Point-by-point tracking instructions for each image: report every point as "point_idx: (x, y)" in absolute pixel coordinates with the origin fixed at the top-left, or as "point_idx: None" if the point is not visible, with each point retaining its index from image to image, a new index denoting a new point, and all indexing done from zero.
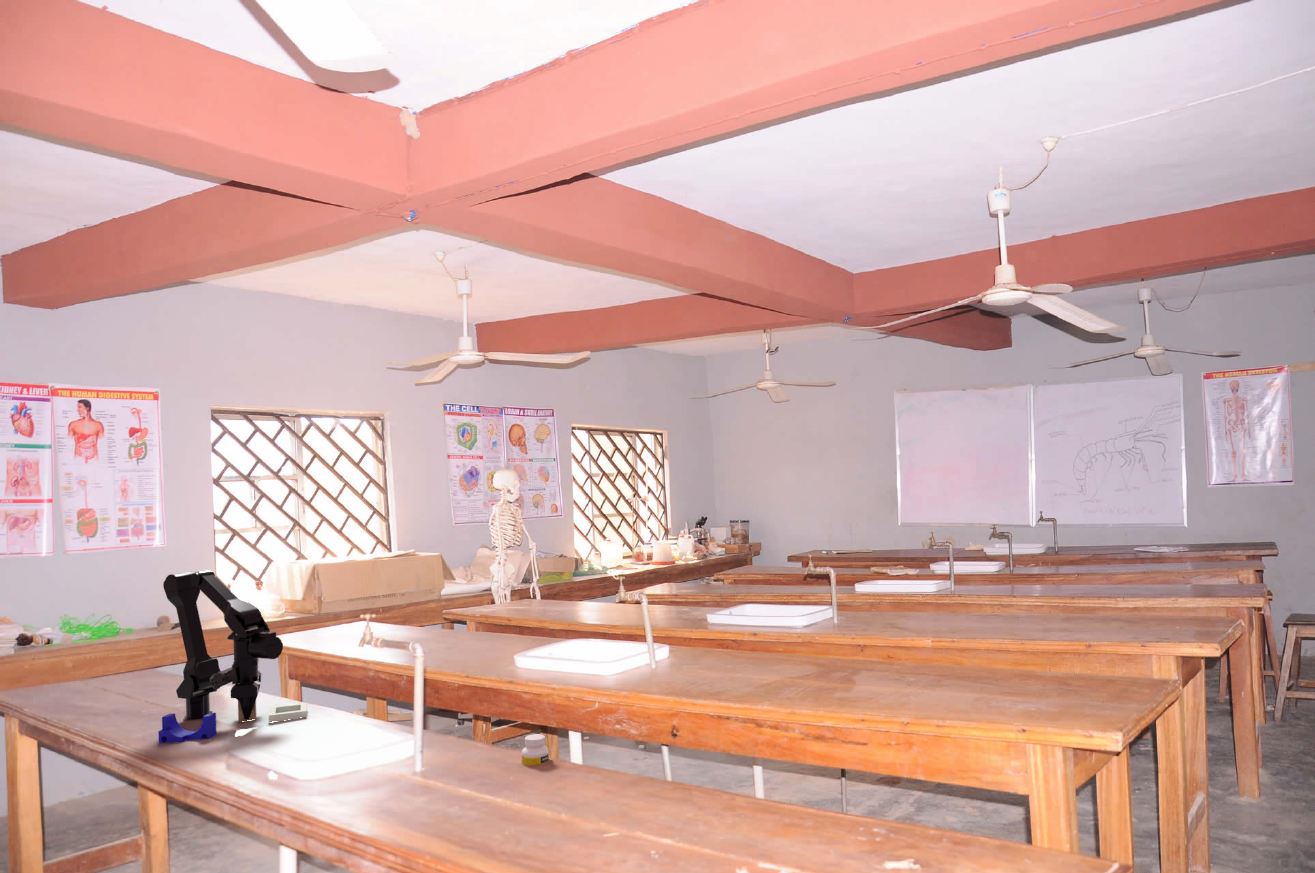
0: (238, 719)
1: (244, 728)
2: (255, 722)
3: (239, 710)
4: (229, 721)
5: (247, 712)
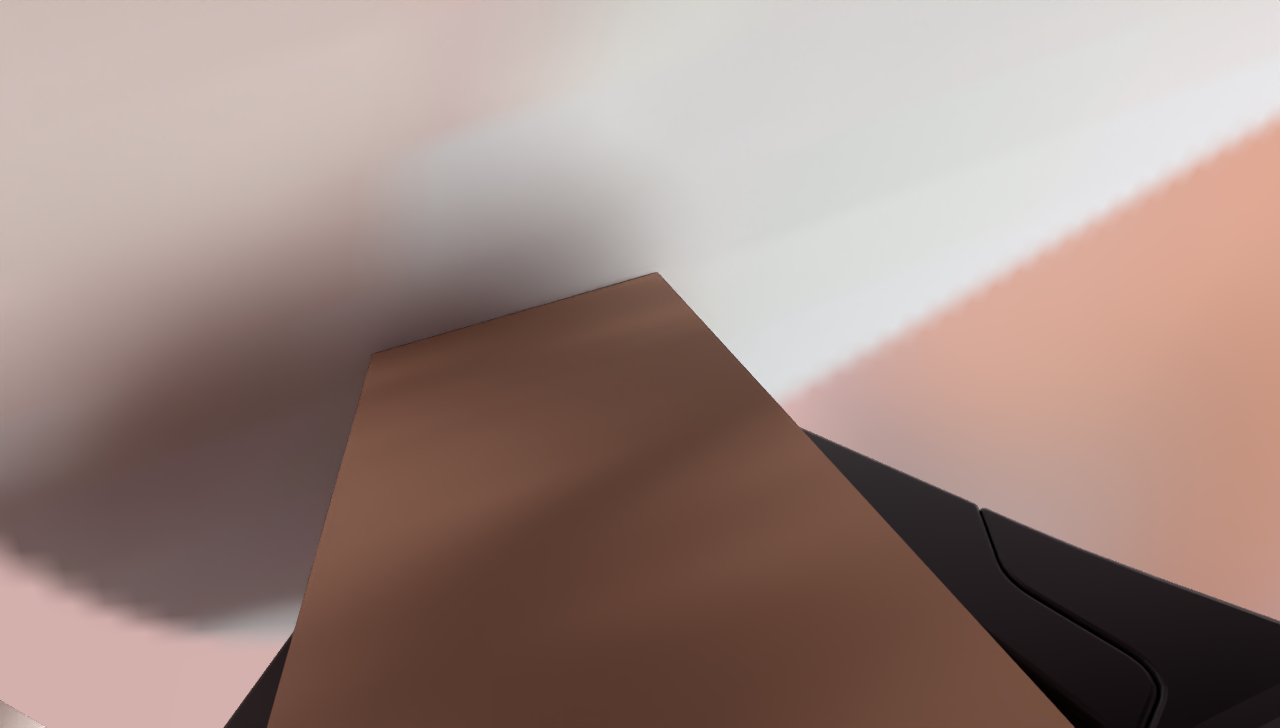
0: (358, 411)
1: (94, 553)
2: None
3: (322, 605)
4: (670, 68)
5: None
